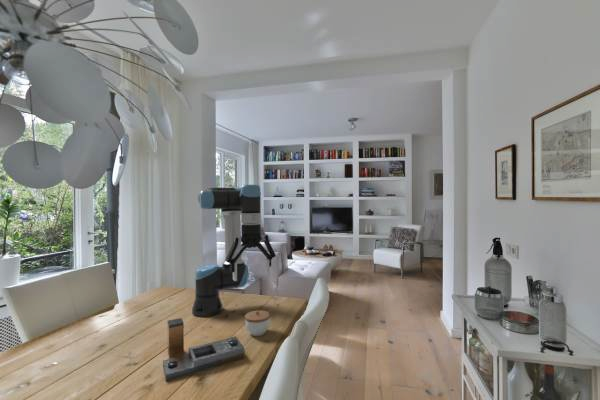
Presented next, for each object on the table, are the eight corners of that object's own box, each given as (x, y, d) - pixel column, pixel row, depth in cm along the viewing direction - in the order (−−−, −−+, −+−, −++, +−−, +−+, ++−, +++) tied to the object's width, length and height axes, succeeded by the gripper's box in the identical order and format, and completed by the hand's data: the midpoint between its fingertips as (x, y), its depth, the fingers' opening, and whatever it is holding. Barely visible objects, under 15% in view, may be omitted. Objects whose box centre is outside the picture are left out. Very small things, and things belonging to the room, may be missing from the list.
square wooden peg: (167, 352, 112) (167, 320, 112) (181, 348, 114) (181, 317, 114) (169, 358, 107) (168, 325, 107) (183, 354, 110) (183, 322, 110)
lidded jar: (265, 339, 121) (265, 316, 121) (241, 337, 123) (240, 315, 123) (273, 328, 132) (272, 307, 132) (250, 326, 134) (250, 306, 134)
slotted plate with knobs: (162, 366, 102) (162, 352, 102) (235, 346, 115) (235, 335, 115) (166, 381, 94) (165, 366, 94) (244, 358, 107) (244, 345, 107)
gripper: (222, 226, 106) (223, 285, 106) (283, 222, 119) (283, 275, 120) (216, 224, 113) (217, 280, 113) (275, 221, 126) (275, 271, 126)
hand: (251, 277), depth 116 cm, fingers open, 13 cm apart
